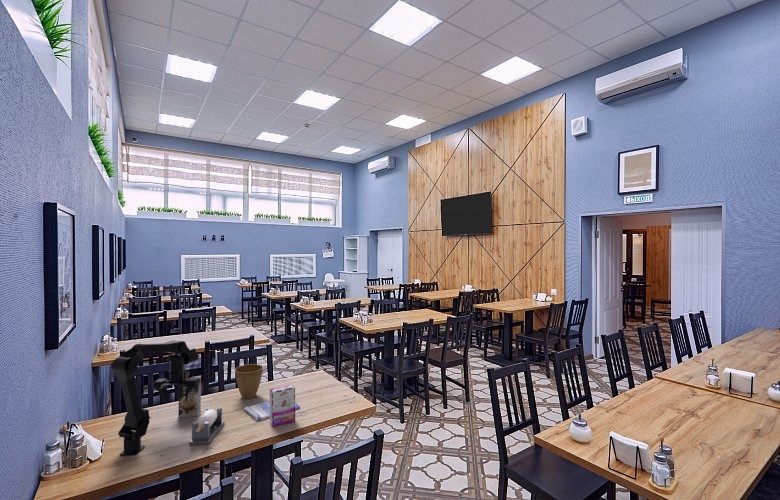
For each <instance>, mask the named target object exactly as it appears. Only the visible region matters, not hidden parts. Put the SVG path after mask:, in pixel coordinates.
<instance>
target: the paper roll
mask: <svg viewBox="0 0 780 500" xmlns="http://www.w3.org/2000/svg"><path fill="white" fill-rule="evenodd" d="M216 419H217V410H215V409H213V408H211V409H209V410H207V411H206V410H205V411H204V412H203V414H202V415H201V416H200V417H199V418H197V420H196V421H195V422H198V428H197V429H196V432H199V431H200V430H204V423H205V422H210V426H211V425H212V424H213V422H214V421H215V420H216Z"/></svg>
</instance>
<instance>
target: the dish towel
mask: <svg viewBox="0 0 780 500" xmlns="http://www.w3.org/2000/svg"><path fill="white" fill-rule="evenodd" d="M300 408H301V406H300V405H299V404H297V403H296V402H295V411H297V410H299V409H300ZM244 410H245V412H246V413H247V414H248V415H249V416H250V417H252V418H253V419H254V420H255V421H256V422H259V421H263V420H267V419H270V400H269V401H263V402H260V403H257V404H254V405H250V406H248V405H246V407H244Z"/></svg>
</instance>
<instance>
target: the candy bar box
mask: <svg viewBox="0 0 780 500" xmlns="http://www.w3.org/2000/svg"><path fill="white" fill-rule="evenodd" d="M269 401H270V418H269V423H270V425H271V427H276V426H280V425H281V426H282V425H284V424H287V423H288V424H289V423H292V422H293V423H294V422H296V410H295V403H296V388H295V385H293V384H288V385H283V386H279V387H273V388H270V389H269Z"/></svg>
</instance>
